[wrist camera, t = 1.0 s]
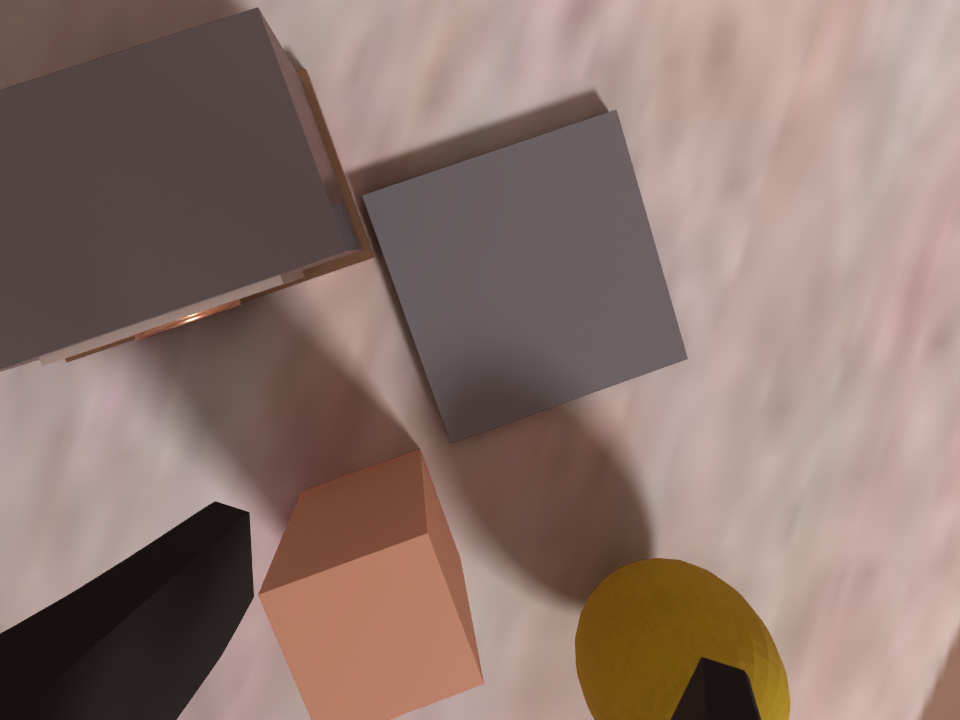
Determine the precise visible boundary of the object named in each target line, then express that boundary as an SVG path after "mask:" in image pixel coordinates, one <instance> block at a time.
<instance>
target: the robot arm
mask: <svg viewBox="0 0 960 720" xmlns="http://www.w3.org/2000/svg"><path fill="white" fill-rule="evenodd" d="M253 597H254V590H253V572H252V553H251V534H250V515H249V512H247V511H244V510H240V509H237V508H234V507H231V506H228V505H225V504H222V503H219V502H214V503H212V504H210V505H208V506H207V507H205V508H204V509H202V510H200V511H199V512H197V513H196V514H194V515H193V516H191V517H190V518H188V519H187V520H185V521H184V522H182V523H181V524H179V525H178V526H176V527H175V528H173V529H171V530H170V531H168V532H167V533H165V534H164V535H162V536H161V537H159V538H158V539H156V540H155V541H153V542H152V543H150V544H149V545H147V546H146V547H144V548H142V549H141V550H139V551H138V552H136V553H135V554H133V555H132V556H130V557H129V558H127V559H125V560H124V561H122V562H121V563H119V564H117V565H116V566H114V567H113V568H111V569H109V570H108V571H106V572H105V573H103V574H101V575H100V576H98V577H97V578H95V579H93V580H92V581H90V582H89V583H87V584H85V585H84V586H82V587H81V588H79V589H77V590H76V591H74V592H72V593H71V594H69V595H67V596H66V597H64V598H62V599H60V600H59V601H57V602H55V603H53V604H52V605H50V606H48V607H46V608H45V609H43V610H41V611H39V612H38V613H36V614H34V615H32V616H31V617H29V618H27V619H26V620H24V621H22V622H20V623H19V624H17V625H15V626H13V627H12V628H10V629H8V630H6V631H4V632H2V633H1V634H0V720H176V719H177V718H178V717H179V715H180V714H181V712H182V711H183V710H184V708H185V707H186V705H187V704H188V703H189V701H190V700H191V698H192V697H193V696H194V694H195V693H196V691H197V690H198V688H199V687H200V686H201V684H202V683H203V681H204V680H205V679H206V677H207V676H208V674H209V673H210V671H211V670H212V669H213V667H214V666H215V664H216V663H217V661H218V660H219V658H220V657H221V656H222V654H223V652H224V650H225V648H226V647H227V645H228V643H229V641H230V640H231V638H232V636H233V634H234V633H235V631H236V629H237V627H238V625H239V624H240V622H241V620H242V618H243V616H244V614H245V612H246V611H247V609H248V607H249V605H250V603H251V601H252V599H253ZM671 720H761V717H760V714H759V710H758V707H757V704H756V700H755V697H754V693H753V690H752V686H751V682H750V679H749V677H748V675H747V674H746V672H745V670H742V669H739V668H736V667H732V666H729V665H726V664H723V663H720V662H717V661H714V660H710V659H707V658H704V657H701V659H700V661H699V663H698V665H697V667H696V669H695V671H694V673H693V675H692V677H691V679H690V681H689V683H688V685H687V687H686V689H685V691H684V693H683V695H682V697H681V699H680V701H679V703H678V706H677V708H676V710H675V712H674V714H673V716H672V718H671Z"/></svg>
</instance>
